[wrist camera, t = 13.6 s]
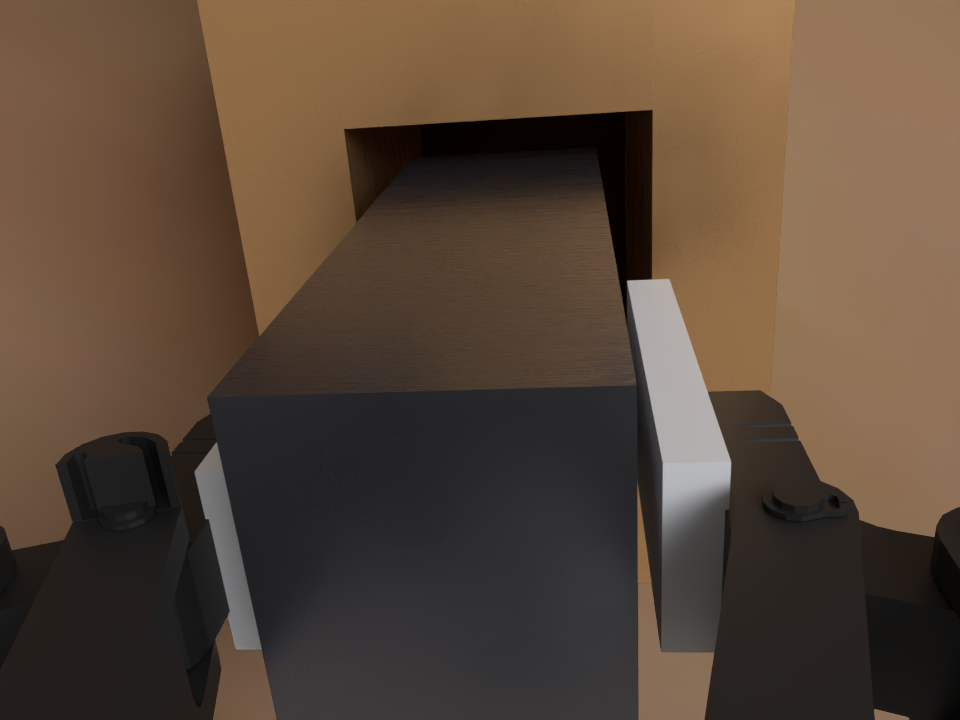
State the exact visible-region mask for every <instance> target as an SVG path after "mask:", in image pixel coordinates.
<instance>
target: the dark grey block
mask: <svg viewBox="0 0 960 720" xmlns="http://www.w3.org/2000/svg"><path fill="white" fill-rule="evenodd" d="M207 399H208V403H209V408H210V413H211V417H212V422H213V427H214V431H215V436H216V440H217V445H218V450H219V454H220V459H221V463H222V468H223V473H224V477H225V482H226V487H227V491H228V496H229V500H230V505H231V510H232V514H233V519H234V523H235V528H236V533H237V537H238V542H239V547H240V551H241V556H242V560H243V565H244V570H245V574H246V579H247V584H248V588H249V593H250V597H251V602H252V607H253V611H254V616H255V620H256V625H257V630H258V634H259V639H260V644H261V648H262V653H263V657H264V662H265V667H266V671H267V676H268V681H269V685H270V690H271V694H272V699H273V704H274V708H275V713H276V717H277V720H638V507H637V382H636V376H635V371H634V365H633V359H632V353H631V347H630V342H629V336H628V330H627V324H626V318H625V313H624V307H623V301H622V295H621V289H620V284H619V278H618V272H617V266H616V260H615V255H614V249H613V243H612V237H611V231H610V226H609V220H608V214H607V208H606V203H605V197H604V191H603V185H602V179H601V174H600V168H599V162H598V156H597V150H596V147H592V148H575V149H558V150H541V151H524V152H507V153H490V154H473V155H456V156H439V157H421V158H411V159H410V161H409V162H408V163H407V164H406V165H405V166H404V168H403V169H402V170H401V171H400V172H399V173H398V175H397V176H396V177H395V178H394V179H393V181H392V182H391V183H390V184H389V185H388V186H387V188H386V189H385V190H384V191H383V192H382V193H381V195H380V196H379V197H378V198H377V199H376V200H375V202H374V203H373V204H372V205H371V206H370V207H369V209H368V210H367V211H366V212H365V213H364V214H363V216H362V217H361V218H360V219H359V220H358V221H357V223H356V224H355V225H354V226H353V227H352V228H351V230H350V231H349V232H348V233H347V234H346V236H345V237H344V238H343V239H342V240H341V241H340V243H339V244H338V245H337V246H336V247H335V248H334V250H333V251H332V252H331V253H330V254H329V255H328V257H327V258H326V259H325V260H324V261H323V262H322V264H321V265H320V266H319V267H318V268H317V269H316V271H315V272H314V273H313V274H312V275H311V276H310V278H309V279H308V280H307V281H306V282H305V283H304V285H303V286H302V287H301V288H300V289H299V291H298V292H297V293H296V294H295V295H294V296H293V298H292V299H291V300H290V301H289V302H288V303H287V305H286V306H285V307H284V308H283V309H282V310H281V312H280V313H279V314H278V315H277V316H276V317H275V319H274V320H273V321H272V322H271V323H270V324H269V326H268V327H267V328H266V329H265V330H264V331H263V333H262V334H261V335H260V336H259V337H258V338H257V340H256V341H255V342H254V343H253V344H252V346H251V347H250V348H249V349H248V350H247V351H246V353H245V354H244V355H243V356H242V357H241V358H240V360H239V361H238V362H237V363H236V364H235V365H234V367H233V368H232V369H231V370H230V371H229V372H228V374H227V375H226V376H225V377H224V378H223V379H222V381H221V382H220V383H219V384H218V385H217V386H216V388H215V389H214V390H213V391H212V392H211V393H210V395H209V396H208V397H207Z"/></svg>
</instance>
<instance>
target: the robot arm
mask: <svg viewBox="0 0 960 720" xmlns="http://www.w3.org/2000/svg"><path fill="white" fill-rule="evenodd" d="M627 330H628V336H629V342H630V347H631V353H632V359H633V365H634V371H635V376H636V382H637V482H638V490H639V497H640V504H641V511H642V518H643V525H644V533H645V540H646V547H647V554H648V561H649V569H650V576H651V583H652V590H653V597H654V605H655V612H656V619H657V626H658V633H659V640H660V648H661V652H714V659H713V666H712V673H711V679H710V686H709V693H708V700H707V707H706V714H705V720H875V717H874V709H878V710H882V711H886V712H890V713H894V714H898V715H902V716H906V717H909V720H960V507H958V508H956V509H954V510H952V511H950V512H948V513H945V514H943V515H942V517H941V519H940V521H939V522H938V524H937V526H936V532H935V537H929V536H923V535H918V534H912V533H906V532H900V531H895V530H890V529H886V528H882V527H878V526H875V525H872V524H869V523H866V522H864V521H861V520H859V512H858V510H857V508H856V506H855V503H854V501H853V500H852V499H851V498H850V497H848V496H847V495H846V494H845V493H843V492H842V491H841V490H840V489H838V488H836V487H833V486H831V485H828V484H826V483H824V482H821V481H820V479H819V477H818V475H817V473H816V471H815V469H814V467H813V465H812V463H811V461H810V459H809V457H808V455H807V453H806V451H805V449H804V447H803V445H802V443H801V441H799V440H798V435H797V433H796V431H795V429H794V427H793V426H791V421H790V419H789V418H788V416H787V414H786V412H785V410H784V408H783V406H782V405H781V404H780V403H778V402H777V401H776V400H774V399H773V398H771V397H770V396H768V395H767V394H765V393H764V392H762V391H761V390H748V391H711V392H707V389H706V386H705V383H704V380H703V377H702V374H701V371H700V368H699V365H698V362H697V359H696V356H695V353H694V350H693V347H692V344H691V341H690V338H689V335H688V332H687V329H686V327H685V324H684V321H683V318H682V315H681V312H680V309H679V306H678V303H677V300H676V297H675V294H674V291H673V288H672V285H671V282H670V279H654V280H629V281H627ZM56 468H57V472H58V475H59V478H60V482H61V485H62V488H63V492H64V495H65V498H66V502H67V505H68V508H69V511H70V515H71V518H72V521H73V523H72V525H71V527H70V529H69V531H68V533H67V535H66V537H65V539H64V540H61V541H58V542H53V543H48V544H42V545H37V546H32V547H27V548H22V549H17V550H11V547H10V544H9V541H8V538H7V535H6V532H5V529H4V528H3V527H1V526H0V720H213V715H214V709H215V703H216V697H217V691H218V685H219V679H220V673H221V666H220V659H219V654H218V650H217V646H216V642H215V638H216V636H217V635H218V633H219V631H220V629H221V627H222V625H223V623H224V621H225V620H226V618H227V616H228V619H229V623H230V627H231V632H232V636H233V640H234V645H235V649H236V650H262V648H261V644H260V639H259V634H258V630H257V625H256V620H255V616H254V611H253V607H252V602H251V597H250V593H249V588H248V584H247V579H246V574H245V570H244V565H243V560H242V556H241V551H240V547H239V542H238V537H237V533H236V528H235V523H234V519H233V514H232V510H231V505H230V500H229V496H228V491H227V487H226V482H225V477H224V473H223V468H222V463H221V459H220V454H219V450H218V445H217V440H216V436H215V431H214V427H213V422H212V417H211V414H210V415H208V416H206V417H205V418H203V419H202V420H200V421H198V422H197V423H196V424H195V425H194V427H193V428H192V429H191V430H190V431H189V433H188V434H187V435H186V436H185V437H184V439H183V442H180V444H179V445H178V446H177V447H176V448H175V450H174V451H173V452H172V456H170V452H169V447H168V443H167V440H165V439H164V438H162V437H161V436H160V435H158V434H153V433H148V432H125V433H119V434H114V435H110V436H105V437H101V438H98V439H96V440H93V441H90V442H88V443H85V444H82V445H81V446H79V447H77V448H75V449H74V450H72V451H70V452H69V453H67V454H65V455H64V456H63V457H62V458H61V460H60V461H59V462H58V463H57V464H56Z"/></svg>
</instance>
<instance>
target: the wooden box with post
mask: <svg viewBox="0 0 960 720" xmlns="http://www.w3.org/2000/svg"><path fill="white" fill-rule="evenodd" d="M197 3H198V9H199V14H200V20H201V25H202V30H203V36H204V41H205V47H206V52H207V57H208V63H209V68H210V74H211V79H212V84H213V90H214V95H215V100H216V106H217V111H218V117H219V122H220V127H221V133H222V138H223V144H224V149H225V154H226V160H227V165H228V171H229V176H230V181H231V187H232V192H233V198H234V203H235V208H236V214H237V219H238V225H239V230H240V235H241V241H242V246H243V251H244V257H245V262H246V268H247V273H248V278H249V284H250V289H251V295H252V300H253V305H254V311H255V316H256V322H257V327H258V332H259V336H260V335H261V334H262V333H263V331H264V330H265V329H266V328H267V327H268V326H269V324H270V323H271V322H272V321H273V320H274V319H275V317H276V316H277V315H278V314H279V313H280V312H281V310H282V309H283V308H284V307H285V306H286V305H287V303H288V302H289V301H290V300H291V299H292V298H293V296H294V295H295V294H296V293H297V292H298V291H299V289H300V288H301V287H302V286H303V285H304V283H305V282H306V281H307V280H308V279H309V278H310V276H311V275H312V274H313V273H314V272H315V271H316V269H317V268H318V267H319V266H320V265H321V264H322V262H323V261H324V260H325V259H326V258H327V257H328V255H329V254H330V253H331V252H332V251H333V250H334V248H335V247H336V246H337V245H338V244H339V243H340V241H341V240H342V239H343V238H344V237H345V236H346V234H347V233H348V232H349V231H350V230H351V228H352V227H353V226H354V225H355V224H356V223H357V221H358V220H359V219H360V218H361V217H362V216H363V214H364V213H365V212H366V211H367V210H368V209H369V207H370V206H371V205H372V204H373V203H374V202H375V200H376V199H377V198H378V197H379V196H380V195H381V193H382V192H383V191H384V190H385V189H386V188H387V186H388V185H389V184H390V183H391V182H392V181H393V179H394V178H395V177H396V176H397V175H398V173H399V172H400V171H401V170H402V169H403V168H404V166H405V165H406V164H407V163H408V162H409V161H410V159H411V158H421V157H423V149H422V139H421V129H420V124H433V123H449V122H465V121H481V120H497V119H513V118H529V117H545V116H561V115H577V114H593V113H609V112H625V173H626V290H627V281H629V280H654V279H670V282H671V285H672V288H673V291H674V294H675V297H676V300H677V303H678V306H679V309H680V312H681V315H682V318H683V321H684V324H685V327H686V329H687V332H688V335H689V338H690V341H691V344H692V347H693V350H694V353H695V356H696V359H697V362H698V365H699V368H700V371H701V374H702V377H703V380H704V383H705V386H706V389H707V392H711V391H748V390H761V391H762V392H764V393H765V394H767V395H768V396H771V379H772V363H773V347H774V331H775V315H776V299H777V283H778V267H779V251H780V235H781V219H782V203H783V187H784V171H785V155H786V139H787V123H788V107H789V91H790V75H791V59H792V42H793V26H794V10H795V0H197ZM637 507H638V584H652V583H651V576H650V569H649V561H648V554H647V547H646V540H645V533H644V525H643V518H642V511H641V504H640V497H639V490H638V482H637Z"/></svg>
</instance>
